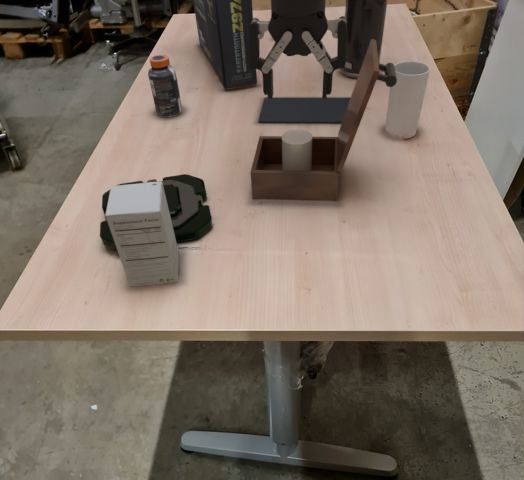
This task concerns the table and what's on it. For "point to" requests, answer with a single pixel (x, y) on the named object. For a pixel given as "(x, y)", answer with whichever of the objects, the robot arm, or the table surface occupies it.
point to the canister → (297, 150)
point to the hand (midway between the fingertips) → (297, 96)
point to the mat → (303, 110)
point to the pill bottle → (164, 87)
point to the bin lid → (362, 99)
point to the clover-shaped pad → (175, 208)
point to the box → (226, 39)
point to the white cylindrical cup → (406, 98)
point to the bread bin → (295, 172)
